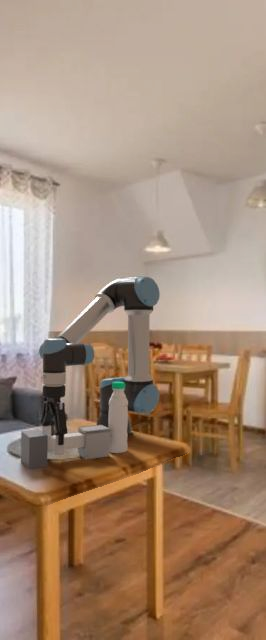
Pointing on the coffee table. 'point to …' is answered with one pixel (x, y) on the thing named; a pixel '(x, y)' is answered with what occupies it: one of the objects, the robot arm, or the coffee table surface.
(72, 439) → the tube
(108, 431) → the sleeve
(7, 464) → the coffee table surface
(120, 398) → the water bottle
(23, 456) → the socket fitting
